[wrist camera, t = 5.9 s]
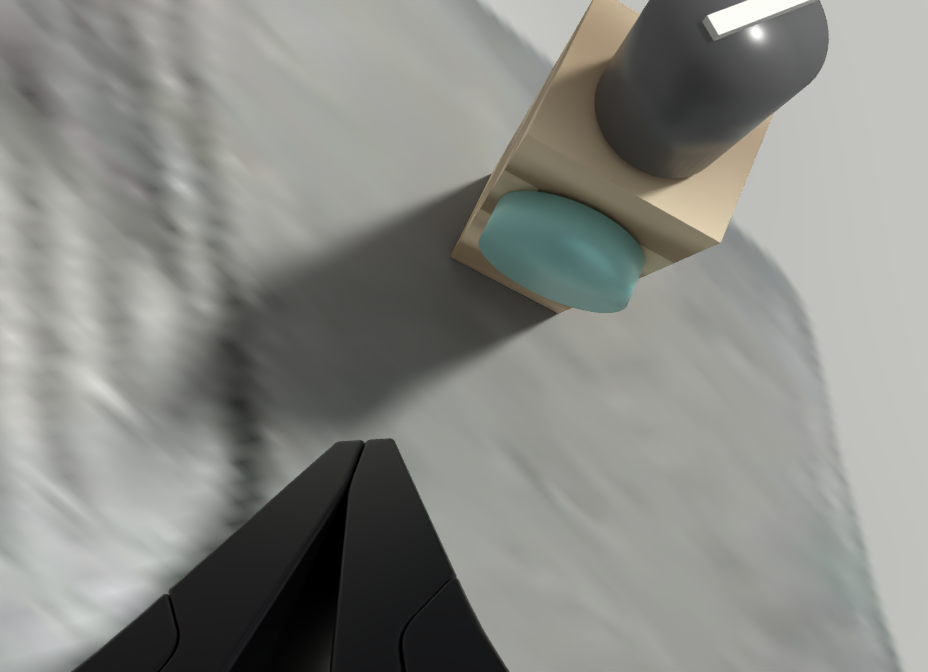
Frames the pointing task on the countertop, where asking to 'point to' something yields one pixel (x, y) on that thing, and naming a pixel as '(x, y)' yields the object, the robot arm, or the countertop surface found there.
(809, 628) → the countertop surface
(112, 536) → the countertop surface
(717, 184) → the mount
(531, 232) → the knob
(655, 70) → the dial
